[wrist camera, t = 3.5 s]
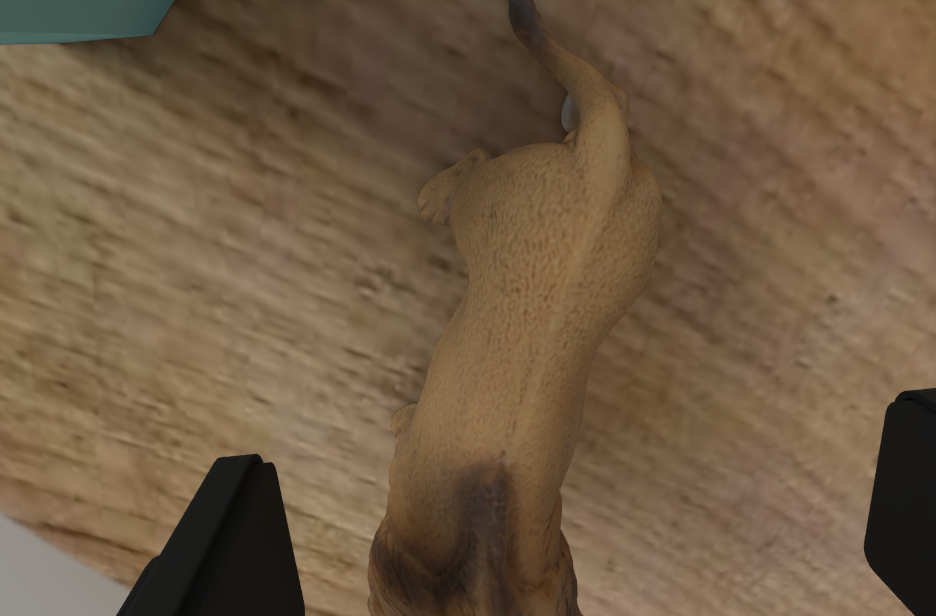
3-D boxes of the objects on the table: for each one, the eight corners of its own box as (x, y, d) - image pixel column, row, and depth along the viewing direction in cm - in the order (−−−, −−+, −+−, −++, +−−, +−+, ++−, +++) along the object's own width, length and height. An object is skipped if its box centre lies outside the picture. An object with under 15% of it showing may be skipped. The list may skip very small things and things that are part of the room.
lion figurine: (563, 541, 18) (686, 923, 10) (383, 544, 18) (351, 945, 10) (624, -6, 14) (956, -171, 5) (381, -20, 13) (314, -224, 5)
